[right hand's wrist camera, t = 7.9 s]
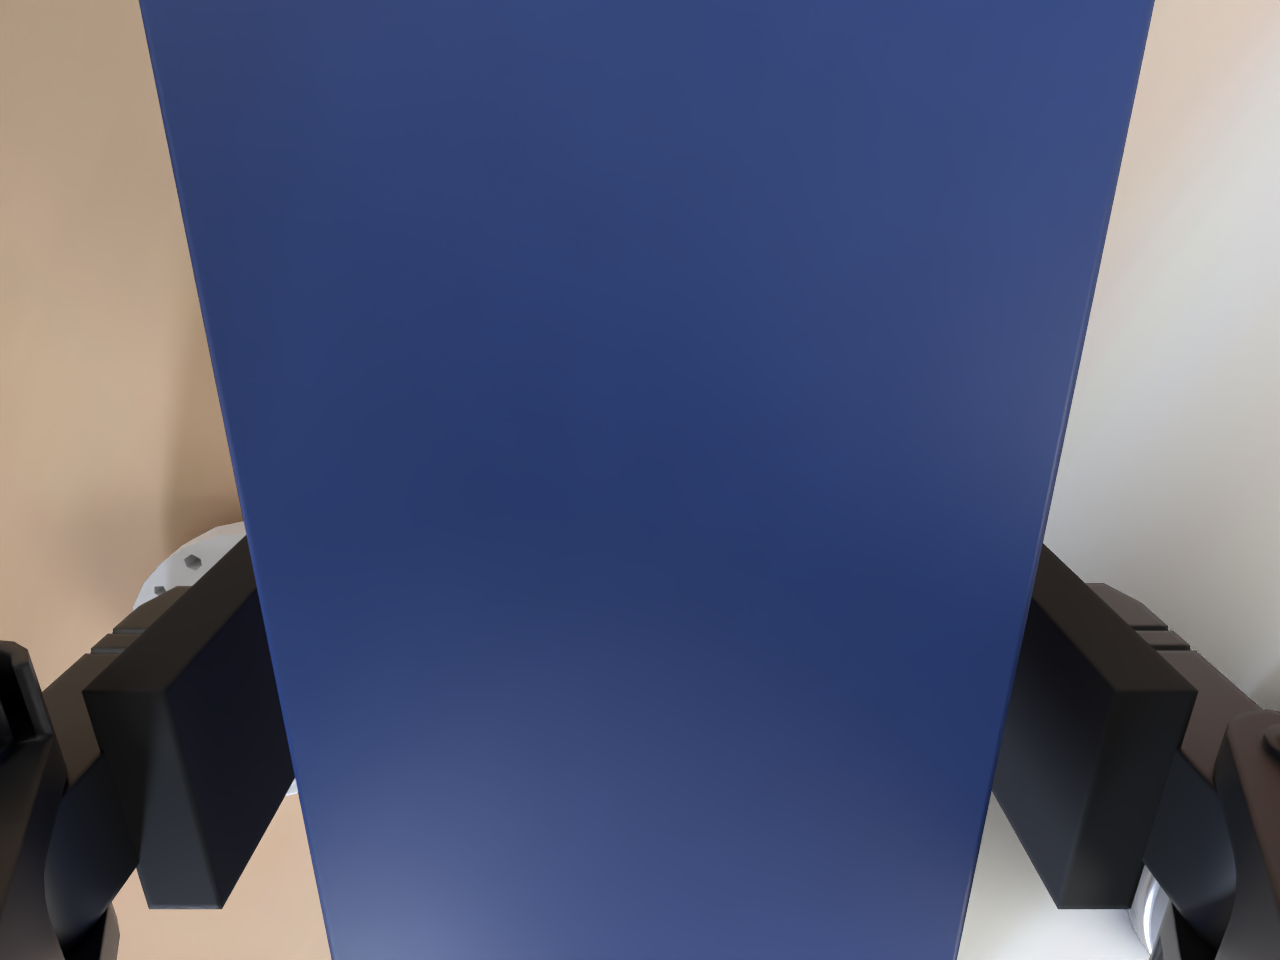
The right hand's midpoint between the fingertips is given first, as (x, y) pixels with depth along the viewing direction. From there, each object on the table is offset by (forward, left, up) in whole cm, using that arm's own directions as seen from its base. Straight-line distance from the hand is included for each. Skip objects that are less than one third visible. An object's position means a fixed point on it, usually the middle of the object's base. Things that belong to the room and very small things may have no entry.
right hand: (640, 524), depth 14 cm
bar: (-12, +7, -1) cm, 14 cm away
